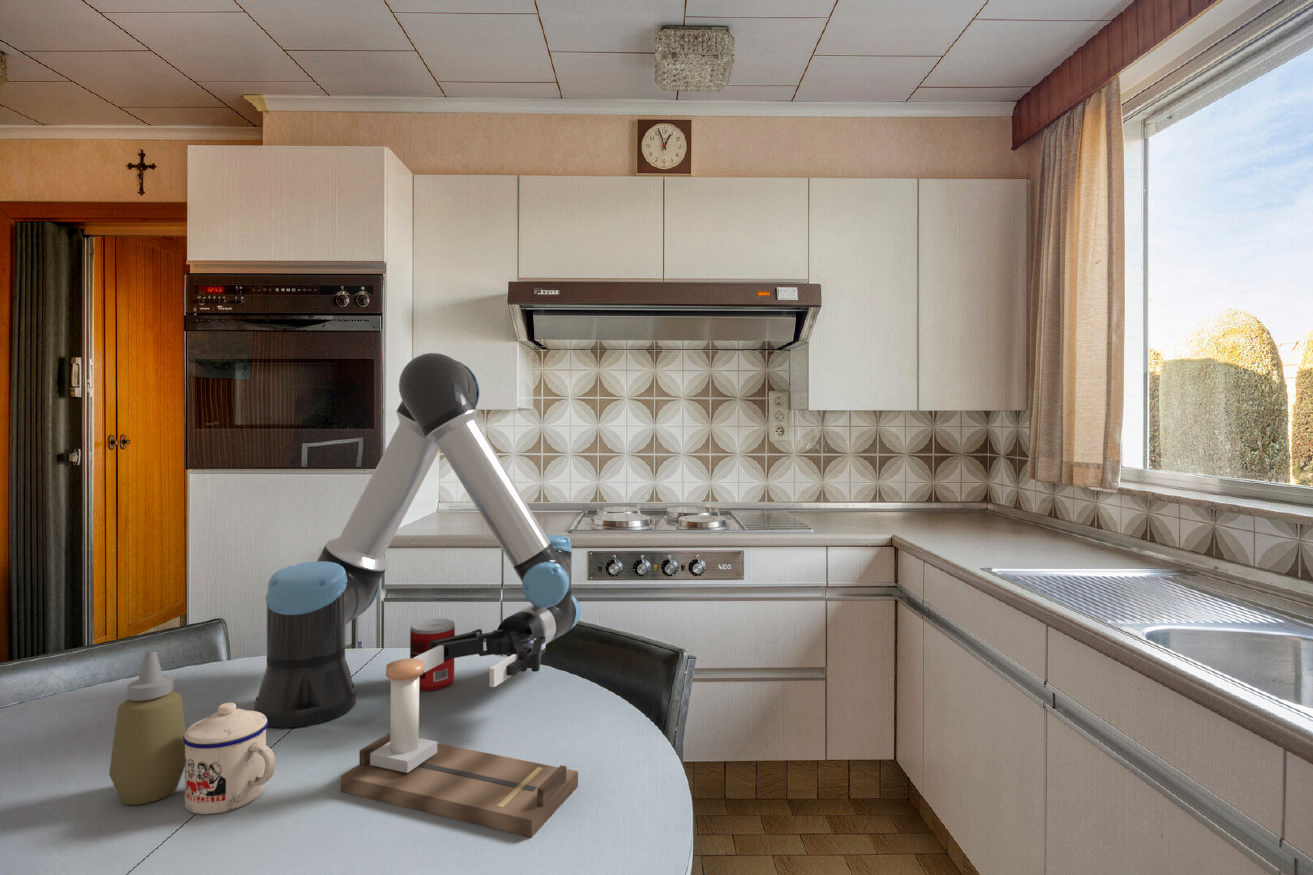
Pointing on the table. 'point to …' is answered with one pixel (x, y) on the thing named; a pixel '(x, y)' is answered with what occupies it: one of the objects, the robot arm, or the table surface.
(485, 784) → the fader track
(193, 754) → the teacup with lid
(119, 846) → the table surface
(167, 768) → the squeeze bottle
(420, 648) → the canned food
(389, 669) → the fader
